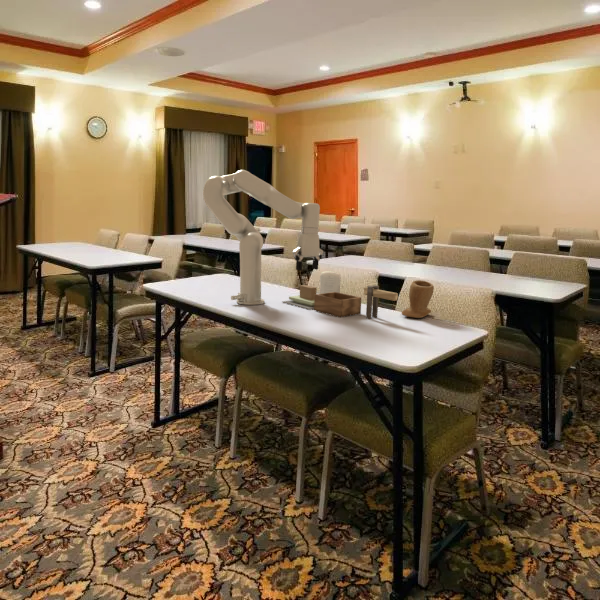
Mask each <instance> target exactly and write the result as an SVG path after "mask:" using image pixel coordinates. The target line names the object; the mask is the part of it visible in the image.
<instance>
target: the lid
mask: <svg viewBox="0 0 600 600" xmlns="http://www.w3.org/2000/svg"><path fill="white" fill-rule="evenodd" d="M315 294H317V287H316V286H311V285H307V284H302V285H301V284H300V285H299V295H291V296H289V297H288V299H289V301H290V300H293V302H297V303H301V304H305V305H308V306H314V302H315Z"/></svg>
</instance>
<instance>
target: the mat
mask: <svg viewBox="0 0 600 600" xmlns="http://www.w3.org/2000/svg"><path fill="white" fill-rule="evenodd" d="M282 302H283V304H285V303H287V304H286V305H289V304H291V305H290V306H293V305H295V306H294V307H297V306H298V307H297V308H300V307H302V308H301V309H304V308H306V309H305V310H308V309H312V310H314V306H308V305H305V304H301V303H297V302H293V300H290V299H289V300H285V301H282Z"/></svg>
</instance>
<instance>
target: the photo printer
mask: <svg viewBox="0 0 600 600" xmlns="http://www.w3.org/2000/svg"><path fill="white" fill-rule="evenodd" d="M329 292H338V293H341V274H340V273H339V272H336V271H332V270H331V271H330V270H329V271H328V270H327V271H322V272H320V277H319V293H318V294H322V293H329Z"/></svg>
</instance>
